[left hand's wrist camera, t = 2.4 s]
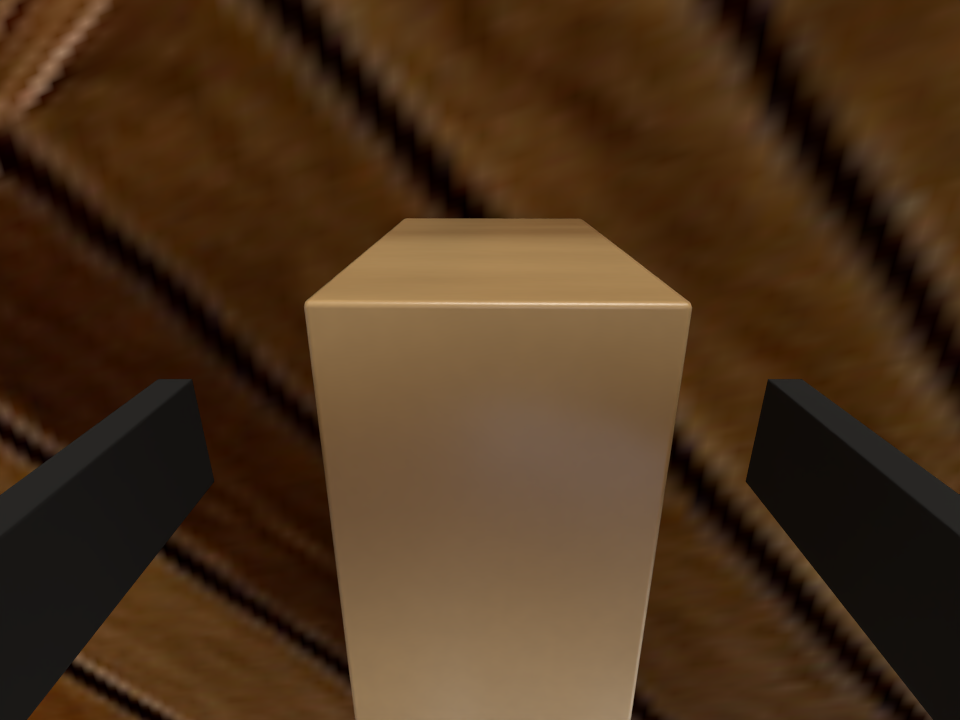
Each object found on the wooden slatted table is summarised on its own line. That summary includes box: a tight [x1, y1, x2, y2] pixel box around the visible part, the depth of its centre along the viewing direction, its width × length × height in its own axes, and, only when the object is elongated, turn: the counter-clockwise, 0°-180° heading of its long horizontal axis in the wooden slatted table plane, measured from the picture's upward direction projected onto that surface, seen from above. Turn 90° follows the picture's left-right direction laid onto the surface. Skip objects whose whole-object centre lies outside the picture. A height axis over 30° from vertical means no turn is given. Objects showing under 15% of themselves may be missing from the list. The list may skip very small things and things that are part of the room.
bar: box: [304, 218, 692, 720], centre depth 16 cm, size 24×5×9 cm, turn 0°
